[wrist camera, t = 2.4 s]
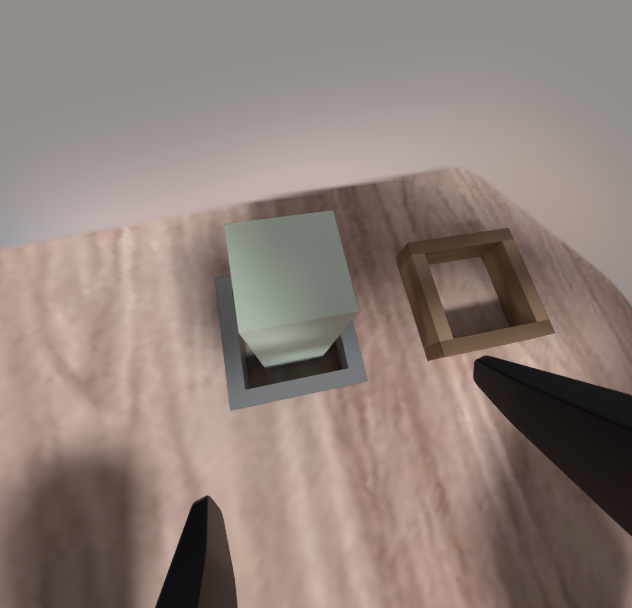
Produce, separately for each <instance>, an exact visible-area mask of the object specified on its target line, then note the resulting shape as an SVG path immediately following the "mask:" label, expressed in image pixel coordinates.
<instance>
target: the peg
mask: <svg viewBox="0 0 632 608" xmlns="http://www.w3.org/2000/svg"><path fill="white" fill-rule="evenodd" d="M224 228H225V235H226V243H227V250H228V258H229V265H230V273H231V280H232V287H233V295H234V302H235V310H236V317H237V325H238V332H239V334H240V335H241V337H242V338H243V339H244V341H245V342H246V343H247V345H248V346H249V347H250V349H251V350H252V351H253V353H254V354H255V355H256V357H257V358H258V359H259V361H260V362H261V363H262V365H263V366H264V367H265V369H268V368H273V367H278V366H283V365H288V364H293V363H298V362H303V361H308V360H313V359H318V358H321V357H322V356H323V355H324V354H325V353H326V351H327V350H328V349H329V348H330V346H331V345H332V344H333V343H334V342H335V340H336V339H337V338H338V337H339V335H340V334H341V333H342V332H343V330H344V329H345V328H346V327H347V326H348V324H349V323H350V322H351V321H352V319H353V318H354V317H355V316H356V315H357V313H358V312H359V309H358V305H357V301H356V297H355V293H354V290H353V286H352V282H351V278H350V274H349V270H348V266H347V262H346V258H345V255H344V251H343V247H342V243H341V239H340V235H339V231H338V227H337V223H336V220H335V216H334V212H333V210H331V211H323V212H315V213H307V214H299V215H291V216H283V217H275V218H267V219H259V220H251V221H243V222H235V223H227V224H224Z"/></svg>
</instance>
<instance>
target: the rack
mask: <svg viewBox="0 0 632 608" xmlns="http://www.w3.org/2000/svg"><path fill="white" fill-rule="evenodd" d="M478 256H482V257H483V259H484V262H485V264H486V267H487V269H488V272H489V274H490V277H491V279H492V282H493V284H494V287H495V289H496V292H497V294H498V297H499V299H500V302H501V304H502V307H503V309H504V312H505V314H506V317H507V319H508V322H509V324H510V327H509V328H504V329H499V330H494V331H490V332H485V333H480V334H475V335H470V336H465V337H460V338H455V339H454V338H453V336H452V333H451V330H450V327H449V324H448V321H447V318H446V315H445V312H444V309H443V306H442V303H441V301H440V298H439V295H438V292H437V289H436V286H435V283H434V280H433V277H432V274H431V271H430V268H429V266H428V265H429V264H435V263H441V262H447V261H453V260H460V259H466V258H472V257H478ZM396 260H397V263H398V266H399V269H400V273H401V276H402V279H403V282H404V285H405V289H406V292H407V295H408V298H409V301H410V305H411V308H412V311H413V314H414V318H415V321H416V324H417V327H418V330H419V334H420V337H421V340H422V343H423V347H424V350H425V353H426V356H427V359H428V361H430V360H434V359H439V358H444V357H449V356H453V355H458V354H463V353H467V352H472V351H477V350H482V349H486V348H491V347H496V346H500V345H505V344H510V343H515V342H519V341H524V340H529V339H533V338H537V337H541V336H545V335H549V334H553V333H555V331H554V329H553V327H552V325H551V322H550V320H549V318H548V315H547V313H546V311H545V309H544V306H543V304H542V302H541V300H540V297H539V295H538V293H537V291H536V288H535V286H534V284H533V282H532V279H531V277H530V275H529V273H528V270H527V268H526V266H525V264H524V261H523V259H522V257H521V255H520V252H519V250H518V248H517V246H516V243H515V241H514V239H513V237H512V234H511V232H510V230H509V228H506V229H499V230H492V231H485V232H479V233H472V234H465V235H458V236H452V237H445V238H438V239H431V240H424V241H418V242H411V243H407V245H406V246H405V247H404V248H403V250H402V251H401V252H400V254H399V255H398V256H397V258H396Z"/></svg>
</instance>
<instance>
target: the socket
mask: <svg viewBox="0 0 632 608" xmlns="http://www.w3.org/2000/svg"><path fill="white" fill-rule="evenodd" d="M215 285H216V293H217V302H218V310H219V319H220V327H221V336H222V344H223V353H224V361H225V370H226V378H227V387H228V395H229V404H230V411H231V410H236V409H241V408H245V407H250V406H255V405H259V404H264V403H268V402H273V401H278V400H282V399H287V398H292V397H296V396H301V395H306V394H310V393H315V392H319V391H324V390H329V389H333V388H338V387H343V386H347V385H352V384H356V383H361V382H366V381H368V380H367V376H366V372H365V368H364V364H363V360H362V356H361V352H360V348H359V344H358V340H357V336H356V332H355V328H354V324H353V320H352V321H351V322H350V323H349V324H348V326H347V327H346V328H345V329H344V330H343V332H342V333H341V334H340V335H339V337H338V338H337V339H336V340H335V343H336V348H337V352H338V356H339V361H340V365H341V370H338V371H333V372H328V373H324V374H319V375H314V376H309V377H304V378H300V379H295V380H290V381H285V382H280V383H275V384H271V385H266V386H261V387H256V388H251V389H250V386H249V379H248V371H247V364H246V357H245V350H244V342H243V338H242V337H241V335H240V334H239V332H238V325H237V317H236V310H235V302H234V295H233V287H232V280H231V276H227V277H221V278H215Z"/></svg>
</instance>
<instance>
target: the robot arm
mask: <svg viewBox="0 0 632 608" xmlns="http://www.w3.org/2000/svg"><path fill="white" fill-rule="evenodd" d="M473 378H474V381H475V383H476V384H477V385H478V387H479V388H480V389H481V390H482V391H483V392H484V393H485V395H486V396H487V397H488V398H489V399H490V400H491V401H492V402H493V404H494V405H495V406H496V407H497V408H498V409H499V410H500V411H501V413H502V414H503V415H504V416H505V417H506V418H507V419H508V420H509V421H510V422H511V423H512V424H513V425H514V426H515V427H516V428H517V429H518V430H519V431H520V432H521V433H522V434H523V435H524V436H525V437H526V438H527V439H529V440H530V441H531V442H532V443H533V444H534V445H535V446H536V447H537V448H538V449H539V450H540V451H541V452H542V453H543V454H544V455H546V456H547V457H548V458H549V459H550V460H551V461H552V462H553V463H554V464H555V465H556V466H557V467H558V468H559V469H560V470H561V471H562V472H564V473H565V474H566V475H567V476H568V477H569V478H570V479H571V480H572V481H573V482H574V483H575V484H576V485H577V486H578V487H579V488H581V489H582V490H583V491H584V492H585V493H586V494H587V495H588V496H589V497H590V498H591V499H592V500H593V501H594V502H595V503H596V504H598V505H599V506H600V507H601V508H602V509H603V510H604V511H605V512H606V513H607V514H608V515H609V516H610V517H611V518H612V519H613V520H614V521H616V522H617V523H618V524H619V525H620V526H621V527H622V528H623V529H624V530H625V531H626V532H627V533H628V534H629V535H630V536H631V537H632V396H631V395H630V394H626V393H622V392H619V391H615V390H611V389H608V388H604V387H600V386H597V385H593V384H590V383H586V382H582V381H579V380H575V379H571V378H568V377H564V376H560V375H557V374H553V373H550V372H546V371H542V370H539V369H535V368H531V367H528V366H524V365H520V364H517V363H513V362H510V361H506V360H502V359H499V358H495V357H491V356H482V357H480V358H478V359H476V360H475V362H474V372H473ZM155 608H238V607H237V596H236V586H235V578H234V572H233V566H232V561H231V556H230V551H229V545H228V540H227V535H226V530H225V524H224V519H223V515H222V512H221V510H220V508H219V507H218V506H217V504H216V503H215V502H214V501H213V499H212V498H211V497H210V496H205V497H203V498H201V499H199V500H197V501H195V502H194V503H193V505H192V507H191V509H190V512H189V515H188V518H187V520H186V523H185V526H184V529H183V532H182V534H181V537H180V540H179V543H178V545H177V548H176V551H175V554H174V557H173V559H172V562H171V565H170V568H169V570H168V573H167V576H166V579H165V582H164V584H163V587H162V590H161V593H160V595H159V598H158V601H157V604H156V607H155Z"/></svg>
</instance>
